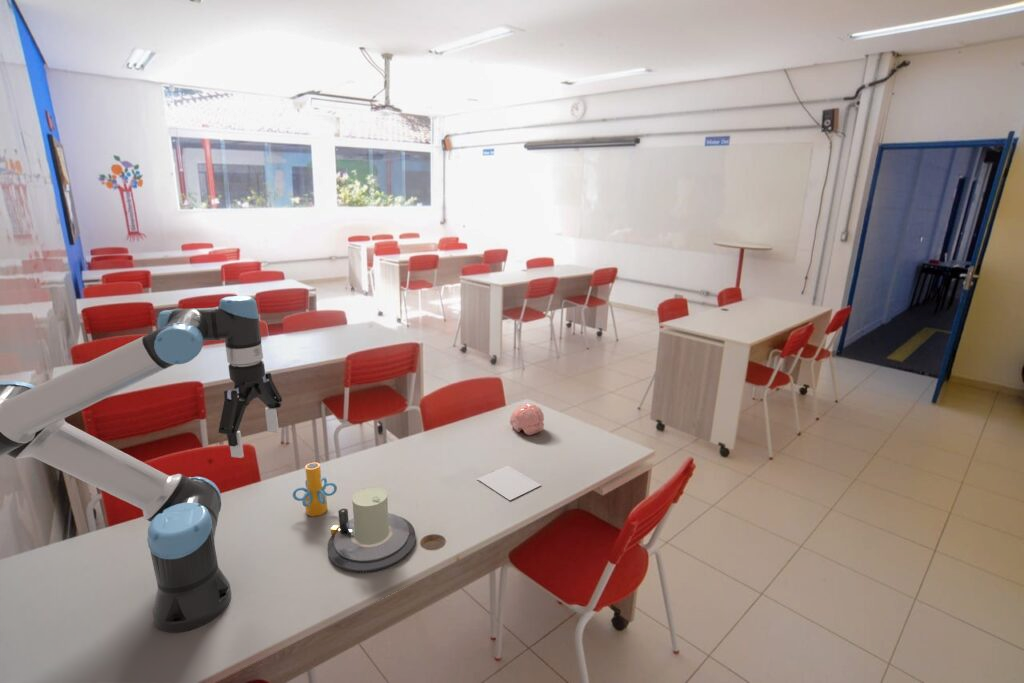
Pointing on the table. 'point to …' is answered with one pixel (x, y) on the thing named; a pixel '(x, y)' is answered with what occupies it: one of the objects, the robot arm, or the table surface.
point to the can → (370, 515)
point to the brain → (527, 419)
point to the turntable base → (372, 566)
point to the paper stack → (508, 482)
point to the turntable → (372, 552)
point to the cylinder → (314, 491)
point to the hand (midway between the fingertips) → (256, 443)
